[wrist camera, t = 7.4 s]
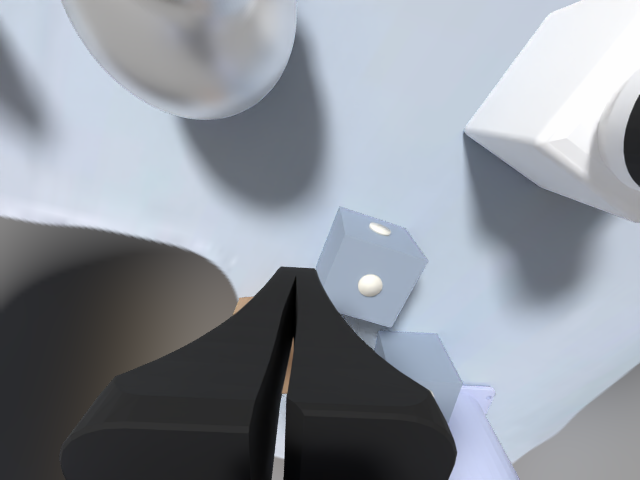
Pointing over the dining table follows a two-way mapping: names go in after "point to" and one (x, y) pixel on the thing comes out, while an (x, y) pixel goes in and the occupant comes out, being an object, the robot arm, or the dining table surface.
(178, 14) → the silver round ornament
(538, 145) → the medicine bottle
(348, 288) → the dotted block
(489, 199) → the dining table surface
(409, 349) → the dotted block
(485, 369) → the dining table surface
